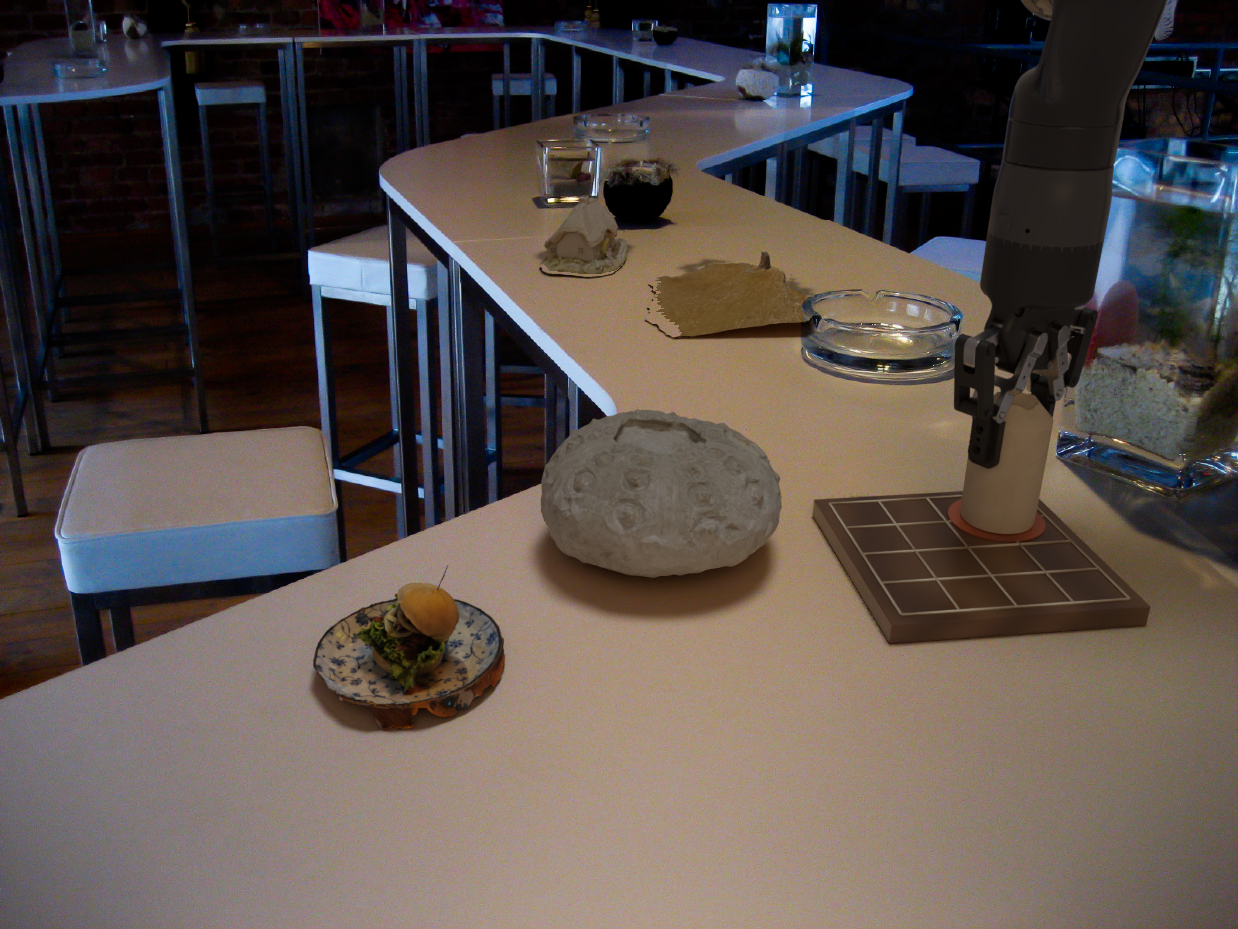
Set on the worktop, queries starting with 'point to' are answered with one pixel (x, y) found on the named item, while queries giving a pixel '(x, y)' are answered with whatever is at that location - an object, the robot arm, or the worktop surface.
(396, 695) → the burger
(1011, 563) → the board
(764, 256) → the leather hide
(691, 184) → the worktop surface
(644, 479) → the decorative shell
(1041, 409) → the candle
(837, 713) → the worktop surface
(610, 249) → the ceramic model
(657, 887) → the worktop surface
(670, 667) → the worktop surface
